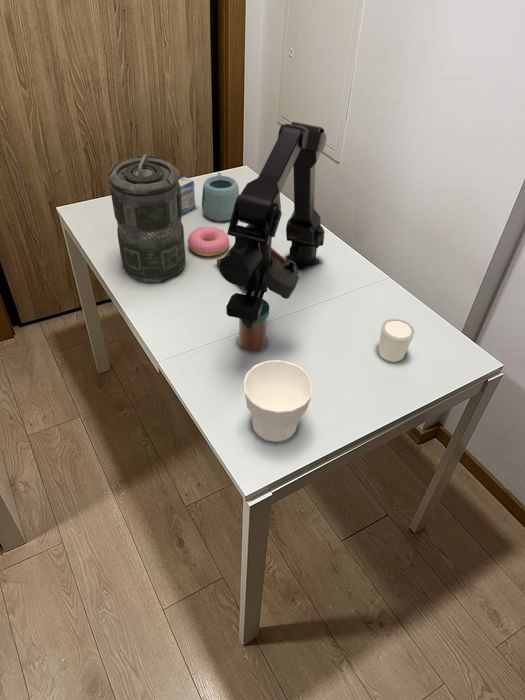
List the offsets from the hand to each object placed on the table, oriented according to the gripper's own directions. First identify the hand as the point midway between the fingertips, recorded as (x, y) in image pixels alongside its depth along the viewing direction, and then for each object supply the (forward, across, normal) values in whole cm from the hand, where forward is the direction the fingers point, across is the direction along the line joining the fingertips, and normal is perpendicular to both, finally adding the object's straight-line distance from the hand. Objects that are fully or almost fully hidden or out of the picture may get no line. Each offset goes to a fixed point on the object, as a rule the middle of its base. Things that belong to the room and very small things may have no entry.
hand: (252, 317), depth 112 cm
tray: (+7, +26, +6) cm, 28 cm away
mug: (+7, +52, +24) cm, 58 cm away
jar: (+7, 0, 0) cm, 7 cm away
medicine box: (+7, +48, +35) cm, 60 cm away
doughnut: (+7, +32, +21) cm, 39 cm away
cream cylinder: (+7, +6, -30) cm, 32 cm away
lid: (-3, 0, 0) cm, 3 cm away
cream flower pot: (+7, -20, -10) cm, 24 cm away
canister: (+7, +20, +31) cm, 38 cm away
